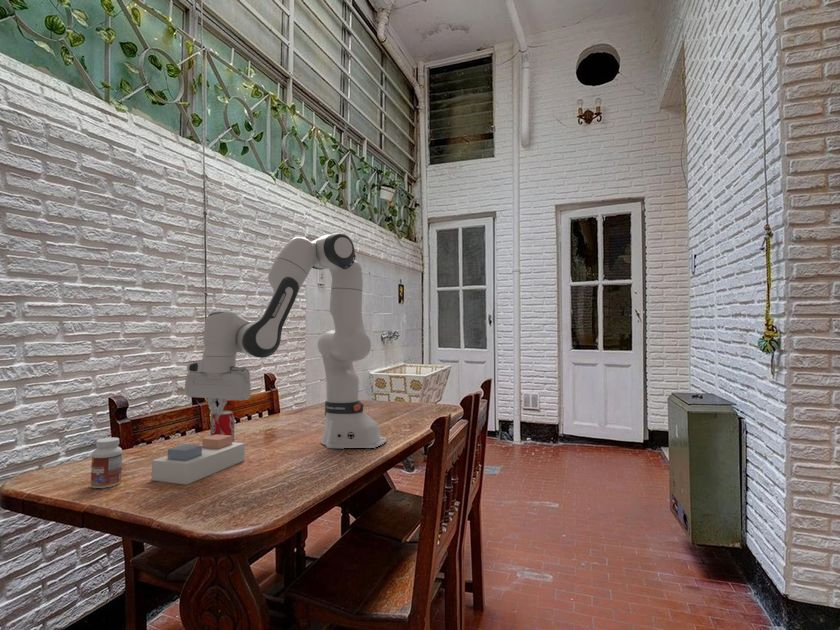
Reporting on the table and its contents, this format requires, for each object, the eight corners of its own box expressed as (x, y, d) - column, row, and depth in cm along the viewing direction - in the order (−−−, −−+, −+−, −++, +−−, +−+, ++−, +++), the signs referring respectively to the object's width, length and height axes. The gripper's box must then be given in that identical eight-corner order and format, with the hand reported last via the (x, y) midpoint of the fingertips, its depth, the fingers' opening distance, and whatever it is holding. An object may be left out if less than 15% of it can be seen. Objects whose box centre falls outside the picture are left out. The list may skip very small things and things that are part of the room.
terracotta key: (231, 449, 130) (232, 435, 130) (218, 454, 125) (218, 440, 125) (215, 448, 132) (216, 434, 132) (201, 452, 126) (202, 438, 127)
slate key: (201, 460, 119) (201, 445, 119) (185, 466, 113) (185, 450, 114) (184, 458, 120) (184, 443, 120) (167, 464, 115) (167, 449, 115)
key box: (244, 460, 132) (244, 443, 132) (186, 484, 110) (187, 464, 111) (213, 457, 134) (213, 440, 135) (151, 480, 113) (151, 460, 114)
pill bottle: (84, 487, 108) (86, 440, 108) (110, 479, 114) (112, 435, 114) (100, 490, 106) (102, 443, 106) (126, 483, 111) (128, 438, 112)
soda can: (227, 452, 140) (228, 414, 140) (205, 452, 140) (206, 414, 140) (237, 447, 147) (238, 410, 147) (216, 446, 147) (217, 410, 147)
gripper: (256, 366, 130) (254, 414, 129) (198, 364, 135) (196, 410, 134) (242, 368, 123) (240, 418, 123) (182, 365, 129) (179, 413, 128)
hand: (216, 414), depth 129 cm, fingers closed
